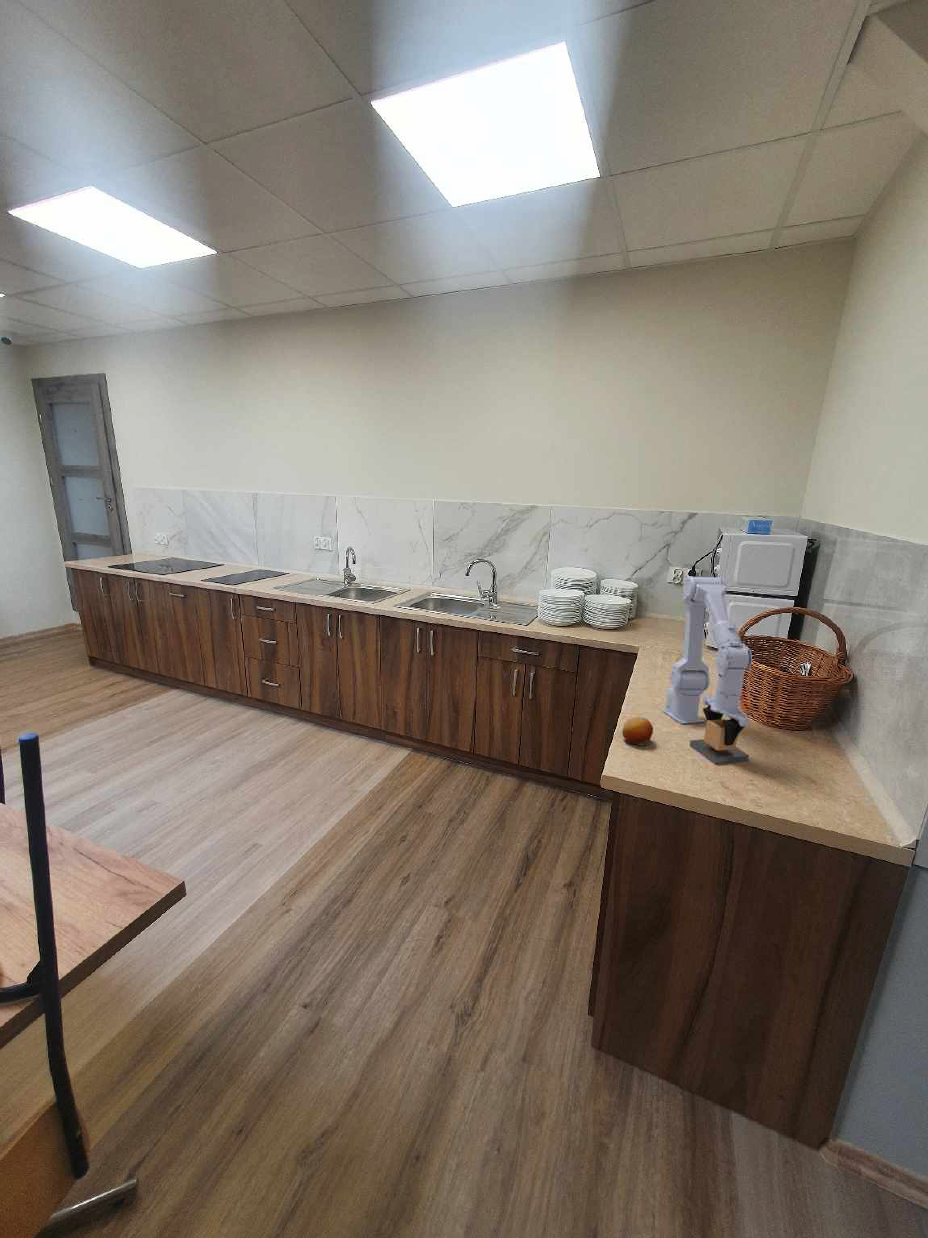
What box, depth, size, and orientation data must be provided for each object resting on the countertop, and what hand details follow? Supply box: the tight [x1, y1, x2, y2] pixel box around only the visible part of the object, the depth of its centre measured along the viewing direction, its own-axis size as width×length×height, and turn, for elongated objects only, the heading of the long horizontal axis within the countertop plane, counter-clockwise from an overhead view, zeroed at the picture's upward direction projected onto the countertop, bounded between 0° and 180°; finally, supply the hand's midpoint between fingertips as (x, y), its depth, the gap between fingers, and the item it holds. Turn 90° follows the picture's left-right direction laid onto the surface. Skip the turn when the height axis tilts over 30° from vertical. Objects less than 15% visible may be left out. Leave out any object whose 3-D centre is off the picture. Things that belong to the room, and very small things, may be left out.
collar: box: [703, 718, 738, 751], centre depth 134 cm, size 5×5×6 cm
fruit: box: [621, 716, 654, 747], centre depth 140 cm, size 8×8×8 cm
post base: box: [689, 738, 750, 765], centre depth 135 cm, size 10×10×6 cm
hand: (720, 739), depth 135 cm, fingers closed on collar, 5 cm apart
